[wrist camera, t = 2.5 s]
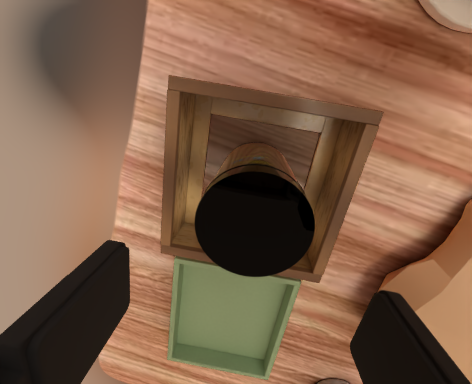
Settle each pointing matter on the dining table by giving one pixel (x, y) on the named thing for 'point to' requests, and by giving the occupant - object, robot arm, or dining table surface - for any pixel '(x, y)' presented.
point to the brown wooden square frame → (270, 112)
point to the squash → (443, 292)
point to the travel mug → (333, 381)
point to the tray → (228, 318)
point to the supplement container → (254, 214)
